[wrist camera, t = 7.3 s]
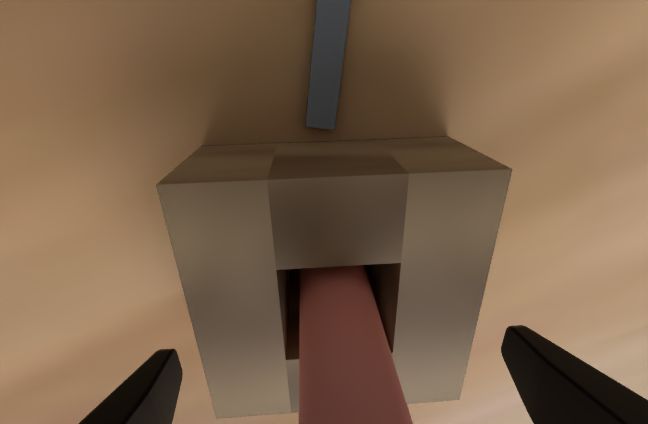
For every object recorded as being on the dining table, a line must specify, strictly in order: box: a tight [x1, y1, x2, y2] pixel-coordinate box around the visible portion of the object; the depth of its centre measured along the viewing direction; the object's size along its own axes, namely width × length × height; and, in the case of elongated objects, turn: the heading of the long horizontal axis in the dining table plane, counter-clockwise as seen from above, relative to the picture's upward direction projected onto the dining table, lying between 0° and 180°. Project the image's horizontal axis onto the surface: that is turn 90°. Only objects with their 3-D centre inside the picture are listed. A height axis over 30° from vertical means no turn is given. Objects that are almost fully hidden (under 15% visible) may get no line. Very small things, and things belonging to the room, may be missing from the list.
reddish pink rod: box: [299, 265, 413, 424], centre depth 10 cm, size 2×2×9 cm
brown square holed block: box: [156, 137, 512, 419], centre depth 12 cm, size 9×9×4 cm
